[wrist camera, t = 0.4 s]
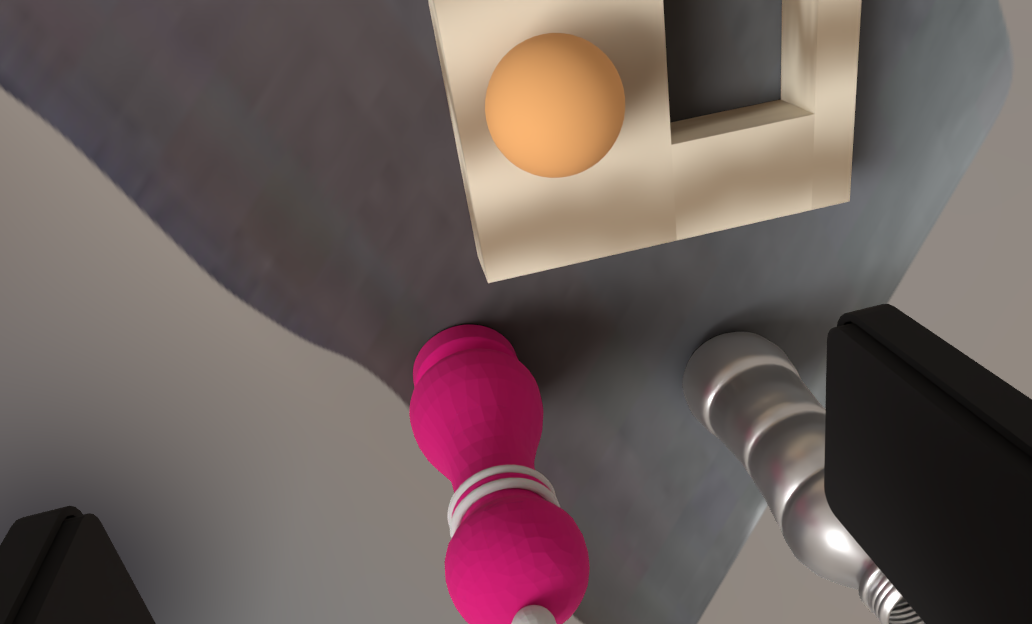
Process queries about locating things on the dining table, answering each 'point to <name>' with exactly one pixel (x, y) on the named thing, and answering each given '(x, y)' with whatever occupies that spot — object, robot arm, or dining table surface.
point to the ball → (555, 105)
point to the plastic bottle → (784, 457)
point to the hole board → (649, 134)
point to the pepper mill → (495, 482)
